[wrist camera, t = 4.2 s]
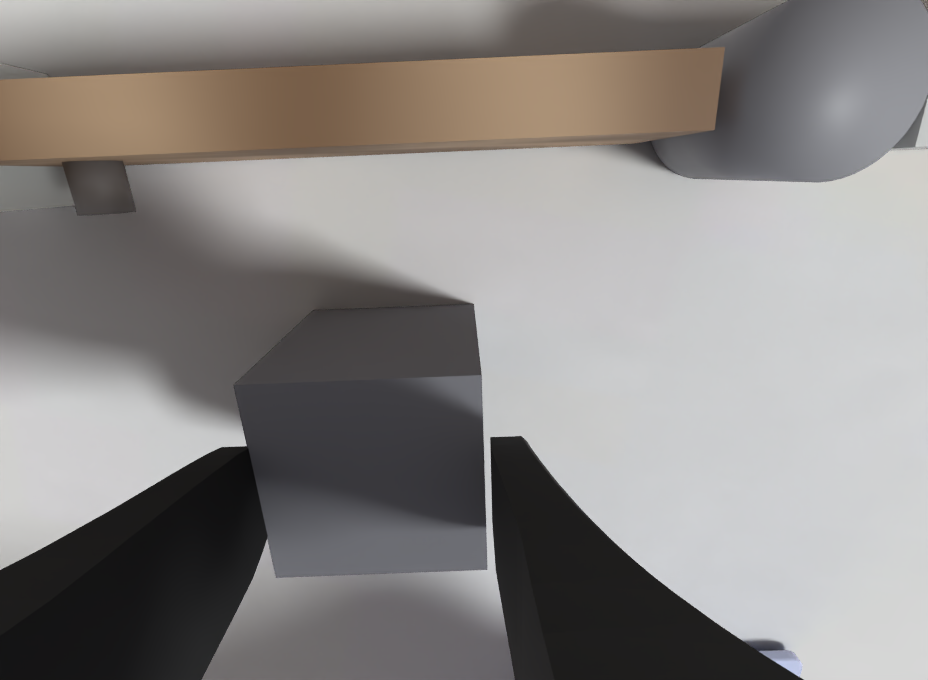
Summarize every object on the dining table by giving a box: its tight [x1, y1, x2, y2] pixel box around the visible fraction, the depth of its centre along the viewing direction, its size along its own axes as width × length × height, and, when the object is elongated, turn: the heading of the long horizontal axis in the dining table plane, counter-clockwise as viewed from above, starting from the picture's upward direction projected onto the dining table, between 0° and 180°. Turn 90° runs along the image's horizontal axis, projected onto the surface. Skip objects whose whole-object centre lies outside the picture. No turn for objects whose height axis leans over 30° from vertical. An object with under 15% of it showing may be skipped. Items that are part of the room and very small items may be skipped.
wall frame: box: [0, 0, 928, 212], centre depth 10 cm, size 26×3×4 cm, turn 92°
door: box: [0, 47, 725, 215], centre depth 10 cm, size 14×2×4 cm, turn 92°
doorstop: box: [234, 304, 487, 578], centre depth 12 cm, size 4×4×5 cm
